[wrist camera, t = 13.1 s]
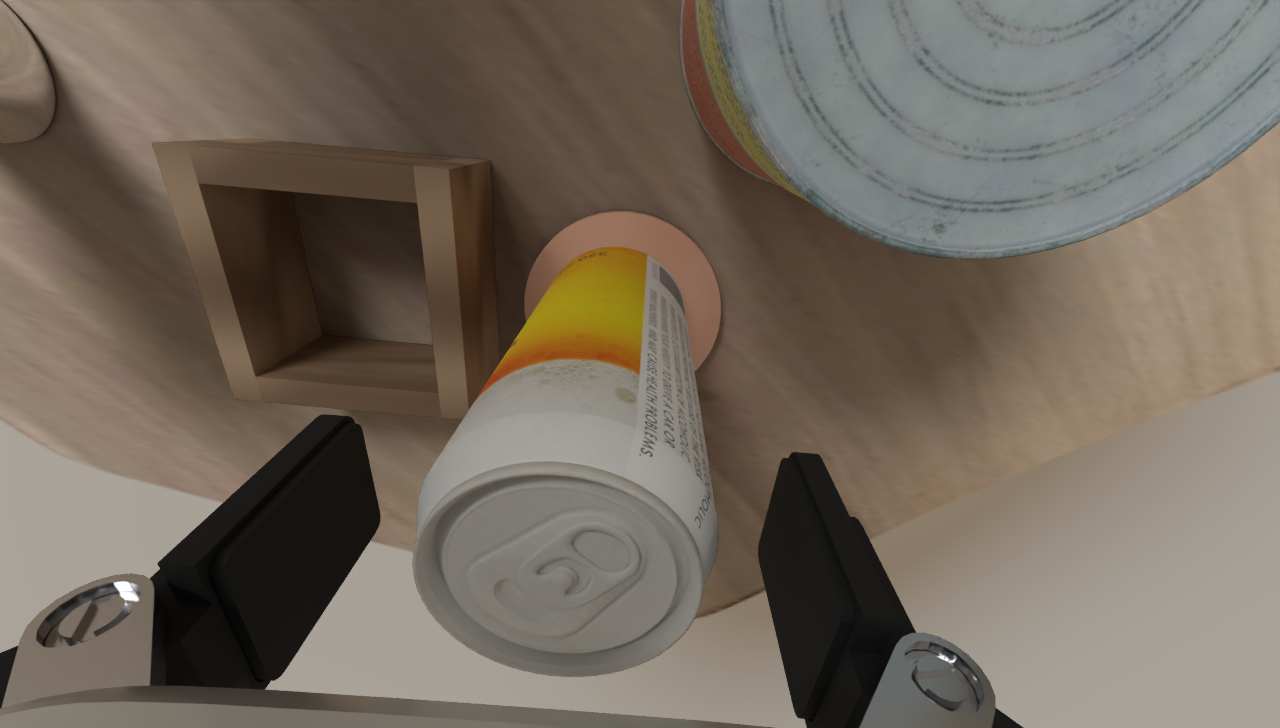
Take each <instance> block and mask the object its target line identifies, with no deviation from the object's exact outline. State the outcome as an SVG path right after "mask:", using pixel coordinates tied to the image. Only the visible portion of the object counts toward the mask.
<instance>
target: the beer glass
mask: <svg viewBox="0 0 1280 728" xmlns="http://www.w3.org/2000/svg"><path fill="white" fill-rule="evenodd" d="M54 110H55V89H54V83H53V79H52V75H51V72H50V69H49V67H48V64H47V62H46V59H45V57H44V55H43V53H42V51H41V49H40V48H39V46H38V44H37V43H36V41H35V39H34V38H33V36H32V35H31V33H30V32H29V31H28V29H27V28H26V27H25V25H24V24H23V23H22V22H21V21H20V19H19V18H18V17H17V16H16V15H15V14H14V13H13V12H12V11H11V10H10V8H9V7H8V6H6V5H5V4H4V3H3V2H2V1H1V0H0V143H20V142H25V141H29V140H32V139H34V138H36V137H38V136H40V135H41V134H42V133H43V132H44V131H45V130H46V129H47V128H48V126H49V125H50V123H51V120H52V118H53V115H54Z"/></svg>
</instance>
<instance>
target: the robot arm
mask: <svg viewBox="0 0 1280 728" xmlns="http://www.w3.org/2000/svg"><path fill="white" fill-rule="evenodd" d="M379 523H380V510H379V505H378V501H377V496H376V492H375V487H374V482H373V478H372V473H371V468H370V464H369V459H368V454H367V450H366V445H365V440H364V436H363V431H362V428H361V426H360V425H359V424H355V422H354V420H353V419H352V417H349V416H338V415H326V414H324V415H320V416H318V417H317V418H316V419H314V420H313V421H312V422H311V423H310V424H309V425H308V426H307V427H306V428H305V429H304V430H302V431H301V432H300V433H299V434H298V435H297V436H296V437H295V438H294V439H293V440H292V441H290V442H289V443H288V444H287V445H286V446H285V447H284V448H283V449H282V450H281V451H279V452H278V453H277V454H276V455H275V456H274V457H273V458H272V459H271V460H270V461H269V462H267V463H266V464H265V465H264V466H263V467H262V468H261V469H260V470H259V471H258V472H257V473H255V474H254V475H253V476H252V477H251V478H250V479H249V480H248V481H247V482H246V483H244V484H243V485H242V486H241V487H240V488H239V489H238V490H237V491H236V492H235V493H234V494H232V495H231V496H230V497H229V498H228V499H227V500H226V501H225V502H224V503H223V504H222V505H221V506H219V507H218V508H217V509H216V510H215V511H214V512H213V513H212V514H211V515H210V516H208V517H207V518H206V519H205V520H204V521H203V522H202V523H201V524H200V525H199V526H197V527H196V528H195V529H194V530H193V531H192V532H191V533H190V534H189V535H188V536H187V537H186V538H185V539H183V540H182V541H181V542H180V543H179V544H178V545H177V546H176V547H175V548H173V549H172V550H171V551H170V552H169V553H168V554H167V555H166V556H165V557H164V558H163V559H162V560H161V561H159V562H158V566H159V567H160V570H159V571H158V572H156V573H155V574H154V575H153V576H152V577H151V578H150V579H148V578H147V577H146V576H144V575H138V574H121V575H114V576H110V577H106V578H103V579H99V580H96V581H93V582H91V583H88V584H86V585H84V586H81V587H79V588H76V589H75V590H73V591H71V592H69V593H68V594H66V595H64V596H62V597H61V598H59V599H57V600H56V601H54V602H53V603H52V604H50V605H49V606H48V607H46V608H45V609H44V610H42V611H41V612H40V613H39V614H38V615H37V616H36V617H35V618H34V619H33V620H32V621H31V623H30V624H29V625H28V626H27V627H26V630H25V631H24V633H23V635H22V637H21V639H20V643H19V646H16V647H14V648H11V649H9V650H7V651H4V652H2V653H0V728H773V727H762V726H751V725H741V724H731V723H720V722H709V721H698V720H685V719H672V718H659V717H645V716H633V715H620V714H607V713H594V712H581V711H568V710H554V709H540V708H525V707H513V706H498V705H485V704H471V703H457V702H443V701H428V700H414V699H400V698H384V697H369V696H353V695H338V694H324V693H307V692H292V691H278V690H265V688H266V687H267V686H268V684H269V683H270V681H271V680H273V681H274V680H276V679H278V678H279V677H280V676H281V675H282V674H283V672H284V671H285V670H286V668H287V667H288V665H289V664H290V662H291V661H292V659H293V658H294V656H295V655H296V653H297V652H298V650H299V649H300V647H301V646H302V644H303V642H304V641H305V639H306V638H307V636H308V635H309V633H310V632H311V630H312V629H313V627H314V626H315V624H316V622H317V621H318V619H319V618H320V616H321V615H322V614H323V612H324V610H325V609H326V607H327V606H328V604H329V603H330V601H331V600H332V598H333V597H334V595H335V594H336V592H337V590H338V589H339V587H340V586H341V585H342V583H343V582H344V580H345V578H346V577H347V575H348V574H349V572H350V571H351V569H352V568H353V566H354V565H355V563H356V562H357V560H358V559H359V557H360V556H361V554H362V552H363V551H364V549H365V548H366V546H367V545H368V543H369V542H370V540H371V539H372V537H373V536H374V534H375V533H376V531H377V529H378V527H379ZM758 557H759V563H760V567H761V571H762V576H763V580H764V584H765V589H766V593H767V597H768V601H769V606H770V610H771V614H772V618H773V622H774V627H775V631H776V635H777V639H778V644H779V648H780V652H781V656H782V661H783V665H784V669H785V673H786V678H787V682H788V686H789V691H790V695H791V699H792V703H793V708H794V711H795V714H796V716H797V717H798V718H802V719H805V722H806V726H807V728H1023V727H1022V726H1020V725H1019V724H1017V723H1016V722H1015V721H1013V720H1012V719H1010V718H1009V717H1008V716H1006V715H1005V714H1004V713H1002V712H1000V711H999V710H998V709H997V708H996V707H995V706H996V705H995V694H994V691H993V689H992V686H991V683H990V681H989V680H988V679H987V677H986V676H985V674H984V672H983V671H982V669H981V668H980V667H979V666H978V665H977V664H976V663H975V662H974V660H973V659H972V658H971V657H970V656H969V655H968V654H966V653H965V652H963V651H962V650H961V649H959V648H958V647H957V646H955V645H954V644H952V643H950V642H948V641H946V640H944V639H942V638H940V637H938V636H934V635H931V634H927V633H916V631H915V630H914V628H913V626H912V624H911V622H910V620H909V618H908V616H907V614H906V612H905V610H904V608H903V606H902V604H901V602H900V600H899V598H898V596H897V594H896V592H895V590H894V588H893V586H892V584H891V582H890V580H889V578H888V576H887V574H886V572H885V570H884V568H883V566H882V564H881V562H880V560H879V558H878V556H877V554H876V552H875V550H874V548H873V546H872V544H871V542H870V540H869V538H868V536H867V534H866V532H865V530H864V528H863V526H862V525H861V523H860V522H859V520H858V519H856V518H855V517H850V516H849V514H848V512H847V510H846V508H845V506H844V504H843V502H842V500H841V497H840V495H839V493H838V491H837V489H836V487H835V485H834V483H833V481H832V479H831V477H830V475H829V473H828V471H827V468H826V466H825V464H824V462H823V460H822V458H821V457H820V455H818V454H810V453H798V452H793V453H791V455H790V456H789V458H783V459H782V460H781V463H780V466H779V470H778V474H777V477H776V481H775V485H774V489H773V492H772V496H771V500H770V504H769V508H768V511H767V515H766V519H765V523H764V526H763V530H762V534H761V538H760V541H759V547H758Z"/></svg>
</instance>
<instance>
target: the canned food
mask: <svg viewBox="0 0 1280 728" xmlns="http://www.w3.org/2000/svg"><path fill="white" fill-rule="evenodd" d="M679 46H680V58H681V66H682V71H683V77H684V81H685V85H686V89H687V93H688V96H689V98H690V101H691V104H692V106H693V109H694V111H695V113H696V115H697V117H698V119H699V121H700V123H701V125H702V126H703V128H704V130H705V131H706V133H707V135H708V136H709V137H710V139H711V140H712V141H713V143H714V144H715V145H716V146H717V147H718V148H719V150H720V151H721V152H722V153H723V154H724V155H725V156H726V157H727V158H729V159H730V160H731V161H732V162H733V163H734V164H736V165H737V166H738V167H740V168H741V169H743V170H744V171H746V172H747V173H749V174H751V175H753V176H755V177H757V178H759V179H761V180H763V181H766V182H768V183H771V184H775V185H777V186H779V187H781V188H783V189H785V190H787V191H789V192H791V193H793V194H795V195H797V196H798V197H800V198H802V199H804V200H806V201H808V202H810V203H812V204H813V205H814V206H815V207H816V208H818V209H819V210H821V211H822V212H823V213H825V214H826V215H828V216H829V217H831V218H832V219H833V220H835V221H836V222H838V223H840V224H841V225H843V226H845V227H847V228H849V229H851V230H852V231H854V232H856V233H858V234H860V235H862V236H864V237H866V238H869V239H871V240H873V241H876V242H878V243H881V244H883V245H886V246H889V247H892V248H896V249H899V250H903V251H906V252H910V253H914V254H920V255H926V256H932V257H937V258H950V259H965V260H970V259H997V258H1005V257H1014V256H1022V255H1027V254H1032V253H1037V252H1042V251H1047V250H1052V249H1055V248H1059V247H1062V246H1066V245H1069V244H1072V243H1076V242H1079V241H1083V240H1086V239H1088V238H1091V237H1093V236H1096V235H1099V234H1101V233H1104V232H1107V231H1109V230H1112V229H1115V228H1117V227H1119V226H1121V225H1123V224H1125V223H1128V222H1130V221H1132V220H1134V219H1136V218H1138V217H1141V216H1143V215H1145V214H1147V213H1149V212H1151V211H1152V210H1154V209H1156V208H1158V207H1160V206H1162V205H1163V204H1165V203H1167V202H1169V201H1171V200H1173V199H1174V198H1176V197H1178V196H1180V195H1181V194H1183V193H1184V192H1186V191H1188V190H1189V189H1191V188H1192V187H1194V186H1195V185H1197V184H1199V183H1200V182H1202V181H1203V180H1205V179H1206V178H1208V177H1210V176H1211V175H1213V174H1214V173H1215V172H1217V171H1218V170H1219V169H1221V168H1222V167H1224V166H1225V165H1226V164H1228V163H1229V162H1230V161H1232V160H1233V159H1235V158H1236V157H1237V156H1239V155H1240V154H1241V153H1243V152H1244V151H1245V150H1247V149H1248V148H1249V147H1250V146H1251V145H1253V144H1254V143H1255V142H1256V141H1258V140H1259V139H1260V138H1261V137H1262V136H1264V135H1265V134H1266V133H1267V132H1268V131H1270V130H1271V129H1272V128H1273V127H1275V126H1276V125H1277V124H1278V123H1279V122H1280V0H682V5H681V13H680V26H679Z"/></svg>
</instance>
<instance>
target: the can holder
mask: <svg viewBox="0 0 1280 728" xmlns="http://www.w3.org/2000/svg"><path fill="white" fill-rule="evenodd" d="M151 143H152V146H153V149H154V152H155V155H156V158H157V161H158V164H159V167H160V171H161V174H162V177H163V180H164V183H165V186H166V189H167V192H168V195H169V198H170V202H171V205H172V208H173V211H174V214H175V217H176V220H177V223H178V226H179V229H180V232H181V236H182V239H183V242H184V245H185V248H186V251H187V254H188V257H189V260H190V263H191V266H192V270H193V273H194V276H195V279H196V282H197V285H198V288H199V291H200V294H201V297H202V300H203V304H204V307H205V310H206V313H207V316H208V319H209V322H210V325H211V328H212V331H213V334H214V338H215V341H216V344H217V347H218V350H219V353H220V356H221V359H222V362H223V365H224V368H225V372H226V375H227V378H228V381H229V384H230V387H231V390H232V393H233V396H234V399H235V400H245V401H256V402H267V403H279V404H290V405H301V406H312V407H324V408H335V409H346V410H358V411H369V412H380V413H392V414H403V415H414V416H425V417H437V418H448V419H459V420H463V418H464V417H465V415H466V414H467V412H468V411H469V409H470V408H471V406H472V405H473V403H474V402H475V400H476V398H477V397H478V395H479V394H480V392H481V391H482V389H483V388H484V386H485V385H486V383H487V382H488V380H489V379H490V377H491V376H492V374H493V372H494V371H495V369H496V368H497V366H498V365H499V363H500V357H499V336H498V316H497V295H496V274H495V254H494V233H493V212H492V191H491V171H490V160H481V159H470V158H459V157H448V156H437V155H426V154H415V153H404V152H393V151H382V150H371V149H360V148H349V147H337V146H326V145H315V144H304V143H293V142H282V141H271V140H260V139H228V140H201V141H174V142H151ZM291 192H300V193H311V194H322V195H333V196H344V197H356V198H367V199H378V200H389V201H400V202H411V203H417V205H418V214H419V223H420V232H421V241H422V250H423V258H424V267H425V276H426V285H427V294H428V303H429V312H430V321H431V330H432V339H433V345H426V344H415V343H403V342H392V341H381V340H370V339H359V338H347V337H336V336H325V335H322V332H321V327H320V323H319V318H318V314H317V309H316V305H315V300H314V295H313V291H312V286H311V282H310V277H309V273H308V268H307V263H306V259H305V254H304V250H303V245H302V241H301V236H300V231H299V227H298V222H297V218H296V213H295V209H294V204H293V199H292V195H291Z"/></svg>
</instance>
